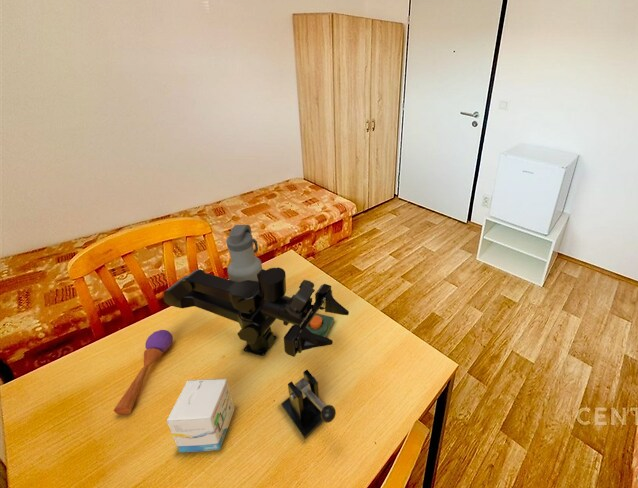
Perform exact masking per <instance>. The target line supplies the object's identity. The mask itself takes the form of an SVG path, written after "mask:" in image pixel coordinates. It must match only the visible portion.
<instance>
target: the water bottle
mask: <svg viewBox="0 0 638 488" xmlns="http://www.w3.org/2000/svg"><path fill="white" fill-rule="evenodd" d="M252 233H253V232H252V228H251V225H250V224H235V225H234V226H233V227H232V228H231V230H230V231H229V232H228V236H227V238H226V240H225V242H226V247H227V251H228V252H229V257H230V261H231V262H229V264H228V265H227V269H226V272H227V276H228V277H227V278H228V280H232V281H235V282H242V281H246V280H251V281H258V278H257V274H258V273H259V272H260V271H261V270H262V269H263V264H262V261H261V259H260V258H259V257H257V256H255V254H256V253H257V252H258V251H259V245H258V241H257V239H256V238H253V235H252ZM254 248H255V249H254Z"/></svg>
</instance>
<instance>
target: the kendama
mask: <svg viewBox="0 0 638 488" xmlns="http://www.w3.org/2000/svg"><path fill="white" fill-rule="evenodd" d="M173 341H174V336H173V334H172V333H171V332H170V331H169V330H167V329H159V330H156V331H154V332H152V333H151V334H150V335H149V336H148V337H147V339H146V340H145V349H144V351H143V366H142V368H141V370H140V371H139V372H138V374H137V375H136V376H135V378H134V379H133V381H132V382H131V384H130V385H129V387H128V388H127V390H126V391H125V393H124V394H123V395H122V397H121V398H120V400H119V401H118V403H117V404H116V406H115V407H114V409H113V412H114V413H115V414H118V415H128V414H130V413H131V412H132V410H133V407H134V405H135V402H136V400H137V398H138V396H139V395H138V394H139V393H140V390H141V388H142V385H143V382H144V380H145V378H146V375H147V372H148V370H149V367H150V366H151V365H153V364H154V363H155V362H156V361H157V360H159V359H160V358H161V357H162V356H163V354H164V353H166V351H167V350H169V349H170V348H171V347H172V344H173Z"/></svg>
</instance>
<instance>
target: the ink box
mask: <svg viewBox="0 0 638 488" xmlns="http://www.w3.org/2000/svg"><path fill="white" fill-rule="evenodd" d="M234 412H235V405H234V403H233V398H232V394H231V390H230V386H229V383H228V379H227V378H204V379H188V380H187V381H186V382H185V384H184V386H183V388H182V390H181V392H180V394H179V396H178V398H177V400H176V401H175V403H174V405H173V407H172V409H171V410H170V413H169V416H168V417H167V419H166V424H167V425H168V428H169V430H170V432H171V435H172V437H173V440H174V442H175V445H176V447H177V449H178V450H177V451H178V452H179V453H181V454H182V453H197V452H199V453H200V452H211V451H219V450H221V448H222V446H223V443H224V440H225V437H226V434H227V431H228V428H229V426H230V423H231V420H232V419H233V415H234Z"/></svg>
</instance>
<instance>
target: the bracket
mask: <svg viewBox="0 0 638 488" xmlns="http://www.w3.org/2000/svg"><path fill="white" fill-rule="evenodd" d="M303 378H304V379H305V380H306V381H307V382H308V383H309V384H310V387H311V391H312V392H313V393H314V394H315V395H316V396H317V397H318V398H319V399H320V394H319V393H320V392H319V391H320V390H319V382H318V380H317V378H316V376H314V375H313V374H312V373H311V372H310V371H309V369H305V370H304V371H303ZM287 389H288V396H289V397H288V398H287V399H285V400H284V401H283V402H281V408H282V409H283V411H284V412H285V414H286V416H288V418H289V419H290V421H291V422H292V424H293V425H294V427H295V428H296V429H297V431H298V432H299V434H300V436H301V437H302V438H303V440H306V439H307V438H308V437H309V436H310V435H311V434H312V433H313V432H314V431H316V429H318V428H319V427H320V426H321V425H323V423H325V422H324V421H323V420H322V418H321V411H320V410H319V409H318V408H317V407H316V406H315V405H314V404H313V403H312V402H311V401H310V400H309V399H308V397H307V396H306V397H305V398H304V399H303V398H302V394H301V393H300V392H299V390H298V389H297V388H296V386H295V384H294V382H293V381H292V380H291V381H290V382H288V383H287Z"/></svg>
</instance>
